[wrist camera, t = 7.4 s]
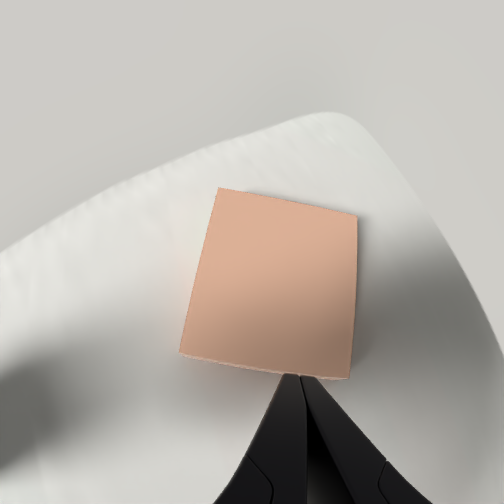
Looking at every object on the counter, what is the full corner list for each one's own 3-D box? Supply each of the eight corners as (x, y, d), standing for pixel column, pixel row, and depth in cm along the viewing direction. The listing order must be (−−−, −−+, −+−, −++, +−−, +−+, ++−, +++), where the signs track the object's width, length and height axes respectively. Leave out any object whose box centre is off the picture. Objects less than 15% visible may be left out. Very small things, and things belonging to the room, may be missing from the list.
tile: (349, 378, 14) (357, 215, 18) (178, 352, 14) (218, 187, 17) (332, 380, 16) (343, 234, 20) (184, 357, 16) (217, 209, 19)
